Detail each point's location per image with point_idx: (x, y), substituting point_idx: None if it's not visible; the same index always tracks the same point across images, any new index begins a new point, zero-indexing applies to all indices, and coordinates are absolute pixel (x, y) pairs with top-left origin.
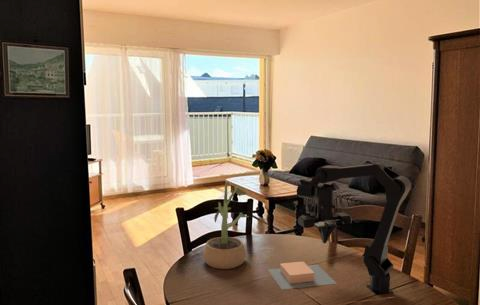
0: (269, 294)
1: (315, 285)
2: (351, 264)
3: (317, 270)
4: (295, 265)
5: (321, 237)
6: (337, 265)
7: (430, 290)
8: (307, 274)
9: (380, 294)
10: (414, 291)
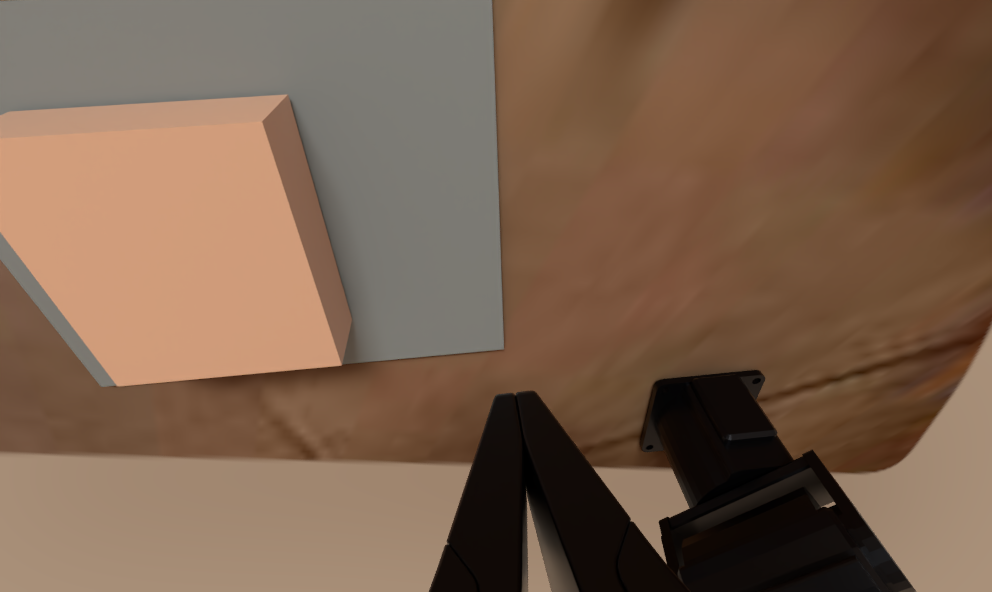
0: (24, 409)
1: (348, 361)
2: (864, 18)
3: (438, 136)
4: (156, 217)
5: (472, 483)
6: (711, 16)
7: (918, 418)
8: (280, 366)
9: (662, 447)
10: (843, 421)
